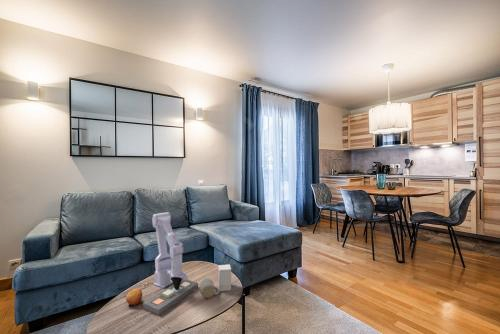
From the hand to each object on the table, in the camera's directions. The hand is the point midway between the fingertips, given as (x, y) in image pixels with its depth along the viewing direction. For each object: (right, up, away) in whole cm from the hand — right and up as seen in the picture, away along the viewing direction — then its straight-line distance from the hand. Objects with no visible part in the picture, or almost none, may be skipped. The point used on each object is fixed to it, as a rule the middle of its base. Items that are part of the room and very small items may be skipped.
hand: (177, 289), depth 132 cm
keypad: (-2, -3, -3) cm, 5 cm away
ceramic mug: (+19, -4, +1) cm, 19 cm away
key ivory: (+3, -2, +6) cm, 7 cm away
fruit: (-21, -4, -8) cm, 22 cm away
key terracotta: (-6, -2, -11) cm, 13 cm away
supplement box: (+27, -3, +7) cm, 28 cm away
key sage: (-3, -1, -6) cm, 7 cm away
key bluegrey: (0, -2, 0) cm, 2 cm away
